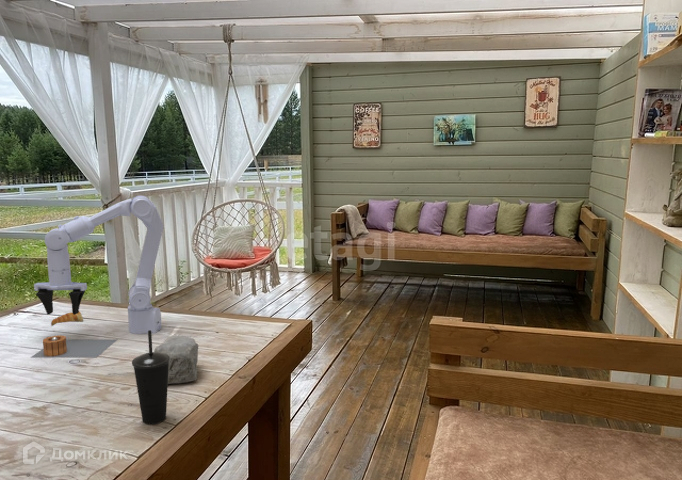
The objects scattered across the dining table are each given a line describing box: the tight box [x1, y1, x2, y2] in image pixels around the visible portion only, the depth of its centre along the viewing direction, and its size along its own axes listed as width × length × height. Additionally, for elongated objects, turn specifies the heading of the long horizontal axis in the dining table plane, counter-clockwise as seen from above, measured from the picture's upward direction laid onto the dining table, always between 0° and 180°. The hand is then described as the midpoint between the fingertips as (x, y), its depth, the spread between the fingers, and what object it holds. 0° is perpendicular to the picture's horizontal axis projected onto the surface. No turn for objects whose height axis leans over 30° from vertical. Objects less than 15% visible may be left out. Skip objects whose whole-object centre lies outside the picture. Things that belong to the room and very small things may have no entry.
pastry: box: [50, 310, 84, 327], centre depth 171 cm, size 9×7×4 cm
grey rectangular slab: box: [30, 338, 118, 359], centre depth 146 cm, size 18×14×2 cm
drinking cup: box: [131, 330, 170, 426], centre depth 109 cm, size 8×8×20 cm
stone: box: [153, 335, 199, 385], centre depth 131 cm, size 13×12×10 cm
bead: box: [42, 334, 67, 356], centre depth 142 cm, size 6×6×4 cm
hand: (62, 313), depth 152 cm, fingers open, 7 cm apart
